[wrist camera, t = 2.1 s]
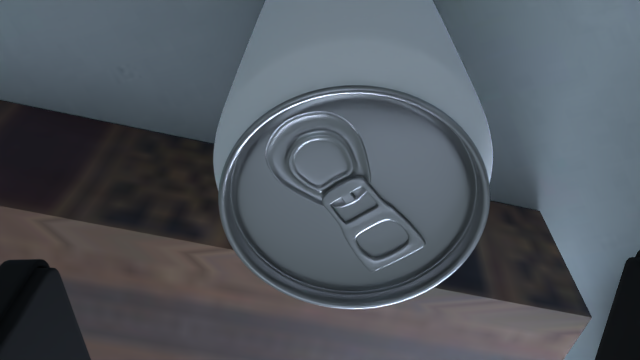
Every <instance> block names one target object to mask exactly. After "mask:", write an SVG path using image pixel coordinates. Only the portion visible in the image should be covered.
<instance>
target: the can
mask: <svg viewBox="0 0 640 360" xmlns="http://www.w3.org/2000/svg"><path fill="white" fill-rule="evenodd" d="M213 165H214V175H215V180H216V185H217V188H218V205H219V213H220V219H221V223H222V226H223V229H224V232H225V234H226V237H227V239H228V241H229V243H230V245H231V246H232V248H233V250H234V251H235V253H236V254H237V256H238V257H239V258H240V259H241V261H242V262H243V263H244V264H245V265H246V266H247V267H248V268H249V269H250V270H251V271H252V272H253V273H254V274H255V275H256V276H257V277H259V278H260V279H261V280H262V281H264V282H265V283H267V284H268V285H270V286H271V287H273V288H275V289H276V290H278V291H280V292H282V293H284V294H286V295H288V296H291V297H293V298H295V299H298V300H301V301H304V302H307V303H311V304H315V305H319V306H324V307H331V308H340V309H366V308H375V307H381V306H387V305H391V304H395V303H399V302H402V301H405V300H408V299H411V298H413V297H416V296H418V295H420V294H422V293H424V292H426V291H428V290H430V289H432V288H433V287H435V286H437V285H438V284H440V283H441V282H443V281H444V280H445V279H447V278H448V277H449V276H450V275H452V274H453V273H454V272H455V271H456V270H457V269H458V268H459V267H460V266H461V265H462V264H463V263H464V262H465V261H466V259H467V258H468V257H469V256H470V254H471V253H472V252H473V250H474V248H475V247H476V245H477V243H478V242H479V240H480V238H481V236H482V233H483V231H484V228H485V225H486V222H487V218H488V214H489V207H490V185H489V183H490V179H491V174H492V167H493V146H492V139H491V134H490V129H489V125H488V121H487V118H486V115H485V113H484V110H483V108H482V105H481V102H480V100H479V98H478V95H477V93H476V91H475V89H474V86H473V84H472V82H471V80H470V78H469V75H468V73H467V71H466V69H465V67H464V65H463V63H462V60H461V58H460V56H459V54H458V52H457V50H456V48H455V46H454V43H453V41H452V39H451V37H450V35H449V33H448V31H447V29H446V27H445V25H444V22H443V20H442V18H441V16H440V14H439V12H438V10H437V8H436V6H435V4H434V2H433V0H265V3H264V5H263V7H262V10H261V12H260V15H259V17H258V20H257V22H256V25H255V27H254V30H253V32H252V35H251V37H250V40H249V42H248V45H247V47H246V50H245V53H244V55H243V58H242V60H241V63H240V65H239V68H238V71H237V73H236V76H235V79H234V81H233V84H232V86H231V89H230V92H229V94H228V97H227V100H226V103H225V105H224V108H223V111H222V114H221V117H220V121H219V124H218V127H217V132H216V137H215V144H214V153H213Z"/></svg>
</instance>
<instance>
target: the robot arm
mask: <svg viewBox="0 0 640 360" xmlns="http://www.w3.org/2000/svg"><path fill="white" fill-rule="evenodd" d="M0 360H91V358H90V356H89V353H88V350H87V347H86V344H85V342H84V339H83V336H82V333H81V331H80V328H79V325H78V322H77V320H76V317H75V314H74V311H73V309H72V306H71V303H70V300H69V298H68V295H67V292H66V289H65V287H64V284H63V281H62V278H61V276H60V273H59V271H58V270H57V269H56V268H50V266H49V264H48V263H47V262H46V261H45V260H42V259H20V260H7V261H4V262H3V263H2V264H1V265H0ZM595 360H640V250H639V251H638V252H637V254H636V257H631V258H629V259H628V260H627V261H626V263H625V266H624V269H623V272H622V276H621V279H620V282H619V285H618V288H617V291H616V295H615V298H614V301H613V304H612V307H611V310H610V314H609V317H608V320H607V323H606V326H605V329H604V333H603V336H602V339H601V342H600V345H599V348H598V352H597V355H596V358H595Z"/></svg>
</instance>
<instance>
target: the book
mask: <svg viewBox="0 0 640 360" xmlns="http://www.w3.org/2000/svg"><path fill="white" fill-rule="evenodd" d="M213 153H214V144H210V143H205V142H200V141H196V140H191V139H186V138H181V137H176V136H171V135H166V134H161V133H157V132H152V131H147V130H142V129H137V128H132V127H127V126H122V125H118V124H113V123H108V122H103V121H98V120H93V119H88V118H83V117H79V116H74V115H69V114H64V113H59V112H54V111H49V110H44V109H40V108H35V107H30V106H25V105H20V104H15V103H10V102H5V101H1V100H0V265H1V264H2V263H3V262H4V261H7V260H20V259H42V260H45V261H46V262H47V263H48V264H49V266H50V268H56V269H57V270H58V271H59V273H60V276H61V278H62V281H63V284H64V287H65V289H66V292H67V295H68V298H69V300H70V303H71V306H72V309H73V311H74V314H75V317H76V320H77V322H78V325H79V328H80V331H81V333H82V336H83V339H84V342H85V344H86V347H87V350H88V353H89V356H90V358H91V360H564V358H565V357H566V355H567V354H568V352H569V351H570V349H571V348H572V346H573V345H574V343H575V342H576V340H577V339H578V337H579V336H580V335H581V333H582V332H583V330H584V329H585V327H586V326H587V324H588V323H589V321H590V320H591V318H592V317H591V315H590V313H589V311H588V308H587V306H586V304H585V302H584V300H583V298H582V296H581V294H580V292H579V290H578V288H577V286H576V284H575V282H574V280H573V278H572V276H571V274H570V272H569V270H568V268H567V266H566V264H565V262H564V260H563V258H562V256H561V254H560V252H559V250H558V248H557V246H556V243H555V241H554V239H553V237H552V235H551V233H550V231H549V229H548V227H547V225H546V223H545V221H544V219H543V217H542V215H541V213H540V211H537V210H532V209H527V208H522V207H517V206H512V205H508V204H503V203H498V202H493V201H490V207H489V214H488V218H487V222H486V225H485V228H484V231H483V233H482V236H481V238H480V240H479V242H478V243H477V245H476V247H475V248H474V250H473V252H472V253H471V254H470V256H469V257H468V258H467V259H466V261H465V262H464V263H463V264H462V265H461V266H460V267H459V268H458V269H457V270H456V271H455V272H454V273H453V274H452V275H450V276H449V277H448V278H447V279H445V280H444V281H443V282H441V283H440V284H438V285H437V286H435V287H433V288H432V289H430V290H428V291H426V292H424V293H422V294H420V295H418V296H416V297H413V298H411V299H408V300H405V301H402V302H399V303H395V304H391V305H387V306H381V307H375V308H366V309H340V308H331V307H324V306H319V305H315V304H311V303H307V302H304V301H301V300H298V299H295V298H293V297H291V296H288V295H286V294H284V293H282V292H280V291H278V290H276V289H275V288H273V287H271V286H270V285H268V284H267V283H265V282H264V281H262V280H261V279H260V278H259V277H257V276H256V275H255V274H254V273H253V272H252V271H251V270H250V269H249V268H248V267H247V266H246V265H245V264H244V263H243V262H242V261H241V259H240V258H239V257H238V256H237V254H236V253H235V251H234V250H233V248H232V246H231V245H230V243H229V241H228V239H227V237H226V234H225V232H224V229H223V226H222V223H221V219H220V213H219V205H218V188H217V185H216V180H215V175H214V165H213Z"/></svg>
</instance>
